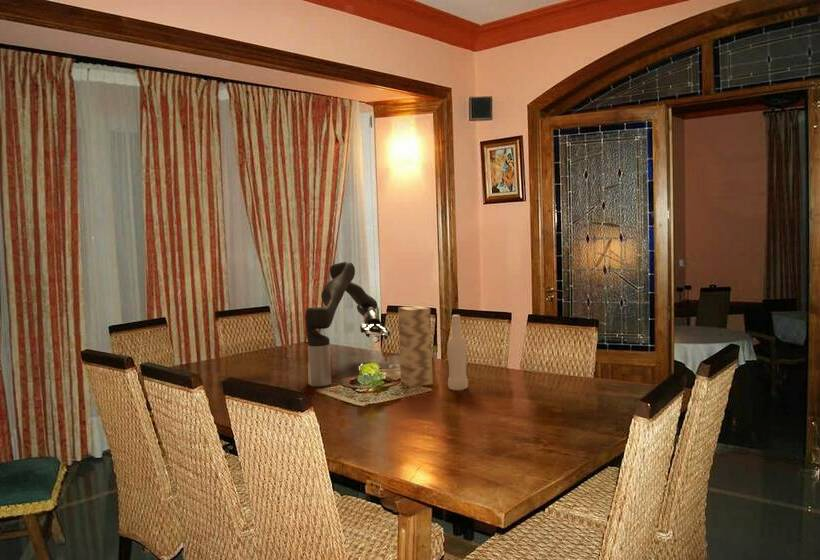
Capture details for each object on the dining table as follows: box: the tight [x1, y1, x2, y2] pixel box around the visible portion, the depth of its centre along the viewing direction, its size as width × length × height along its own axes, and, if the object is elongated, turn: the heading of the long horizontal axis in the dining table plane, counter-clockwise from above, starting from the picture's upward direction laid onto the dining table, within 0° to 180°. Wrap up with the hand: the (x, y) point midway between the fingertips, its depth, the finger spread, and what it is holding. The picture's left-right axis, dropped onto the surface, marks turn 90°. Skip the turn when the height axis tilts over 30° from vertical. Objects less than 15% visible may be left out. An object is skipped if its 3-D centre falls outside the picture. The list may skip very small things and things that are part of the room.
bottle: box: [446, 314, 469, 391], centre depth 260 cm, size 8×8×30 cm
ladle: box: [378, 354, 400, 370], centre depth 296 cm, size 6×21×6 cm, turn 22°
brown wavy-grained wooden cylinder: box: [397, 305, 433, 387], centre depth 272 cm, size 10×11×32 cm
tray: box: [380, 368, 401, 378], centre depth 287 cm, size 14×14×2 cm
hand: (377, 336), depth 306 cm, fingers open, 8 cm apart
